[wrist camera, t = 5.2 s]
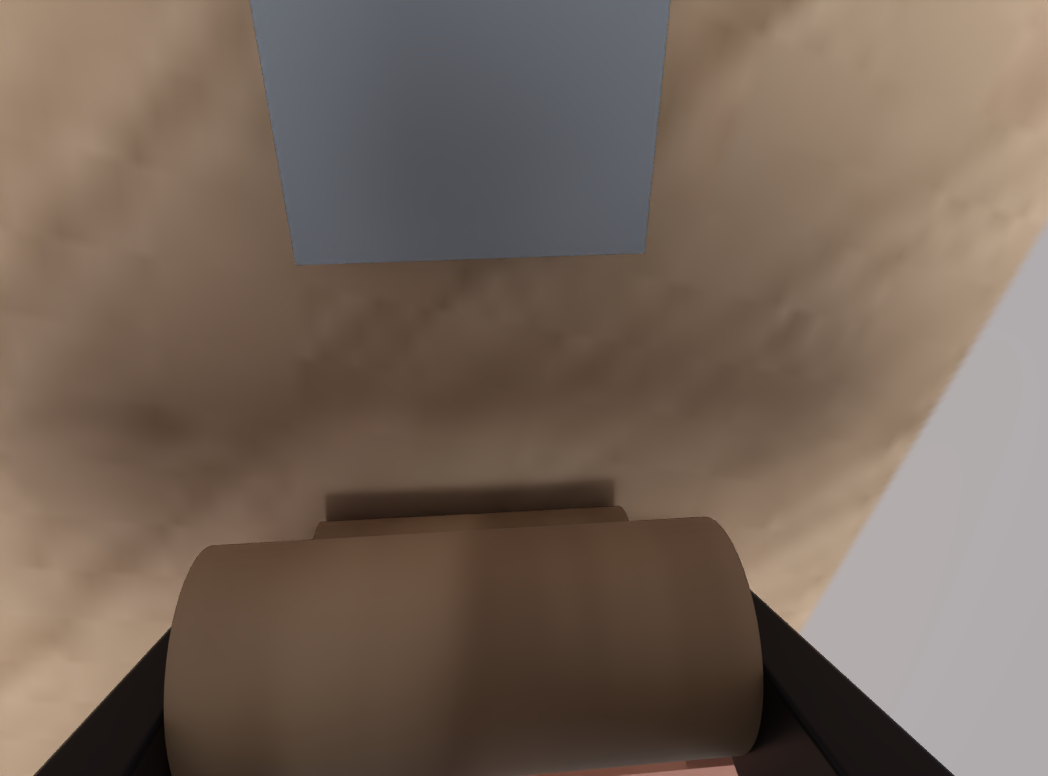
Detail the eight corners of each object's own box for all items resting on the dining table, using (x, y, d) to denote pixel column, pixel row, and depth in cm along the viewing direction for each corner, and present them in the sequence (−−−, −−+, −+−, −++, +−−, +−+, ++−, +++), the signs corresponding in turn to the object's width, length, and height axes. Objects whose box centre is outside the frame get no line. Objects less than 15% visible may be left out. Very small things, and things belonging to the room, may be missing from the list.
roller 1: (604, 519, 18) (617, 648, 17) (335, 534, 17) (332, 668, 16) (629, 492, 15) (648, 645, 14) (310, 508, 15) (305, 669, 14)
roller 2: (670, 605, 12) (729, 799, 9) (257, 634, 11) (210, 850, 9) (702, 470, 10) (786, 669, 8) (212, 496, 9) (138, 721, 7)
